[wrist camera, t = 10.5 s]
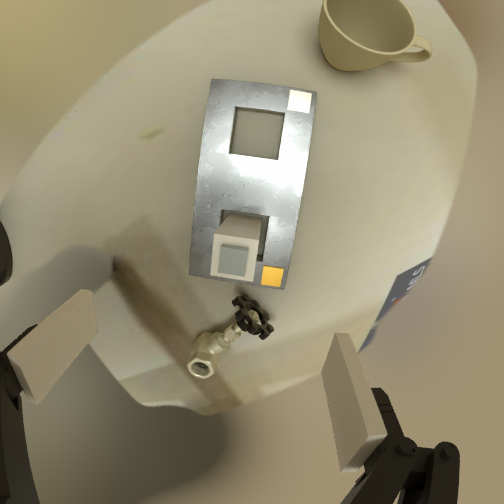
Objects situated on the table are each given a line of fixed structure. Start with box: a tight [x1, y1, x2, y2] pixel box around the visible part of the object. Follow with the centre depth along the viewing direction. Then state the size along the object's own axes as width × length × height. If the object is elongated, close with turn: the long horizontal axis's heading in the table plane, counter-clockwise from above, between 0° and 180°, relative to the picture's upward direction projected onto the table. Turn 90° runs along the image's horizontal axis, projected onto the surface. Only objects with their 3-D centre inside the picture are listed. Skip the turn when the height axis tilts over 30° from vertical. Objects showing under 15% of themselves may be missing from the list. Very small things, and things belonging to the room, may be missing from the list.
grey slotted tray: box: [189, 79, 317, 290], centre depth 32 cm, size 12×24×2 cm, turn 172°
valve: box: [187, 294, 274, 379], centre depth 37 cm, size 7×7×12 cm
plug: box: [210, 214, 262, 282], centre depth 30 cm, size 4×4×11 cm
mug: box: [318, 0, 432, 71], centre depth 22 cm, size 11×10×12 cm
